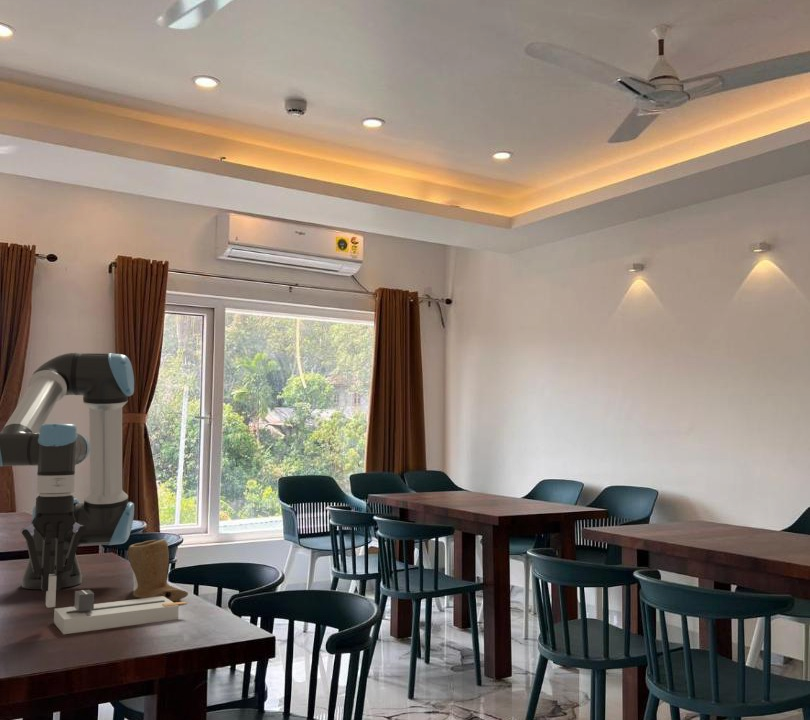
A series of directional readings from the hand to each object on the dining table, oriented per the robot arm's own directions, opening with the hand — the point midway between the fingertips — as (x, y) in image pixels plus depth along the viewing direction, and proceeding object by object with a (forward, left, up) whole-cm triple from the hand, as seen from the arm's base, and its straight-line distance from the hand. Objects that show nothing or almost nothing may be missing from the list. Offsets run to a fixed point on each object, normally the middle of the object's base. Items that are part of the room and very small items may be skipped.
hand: (50, 605), depth 164 cm
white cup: (-31, +29, -5) cm, 43 cm away
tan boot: (-17, +27, -5) cm, 32 cm away
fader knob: (0, +7, -1) cm, 7 cm away
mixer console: (0, +15, -5) cm, 16 cm away
